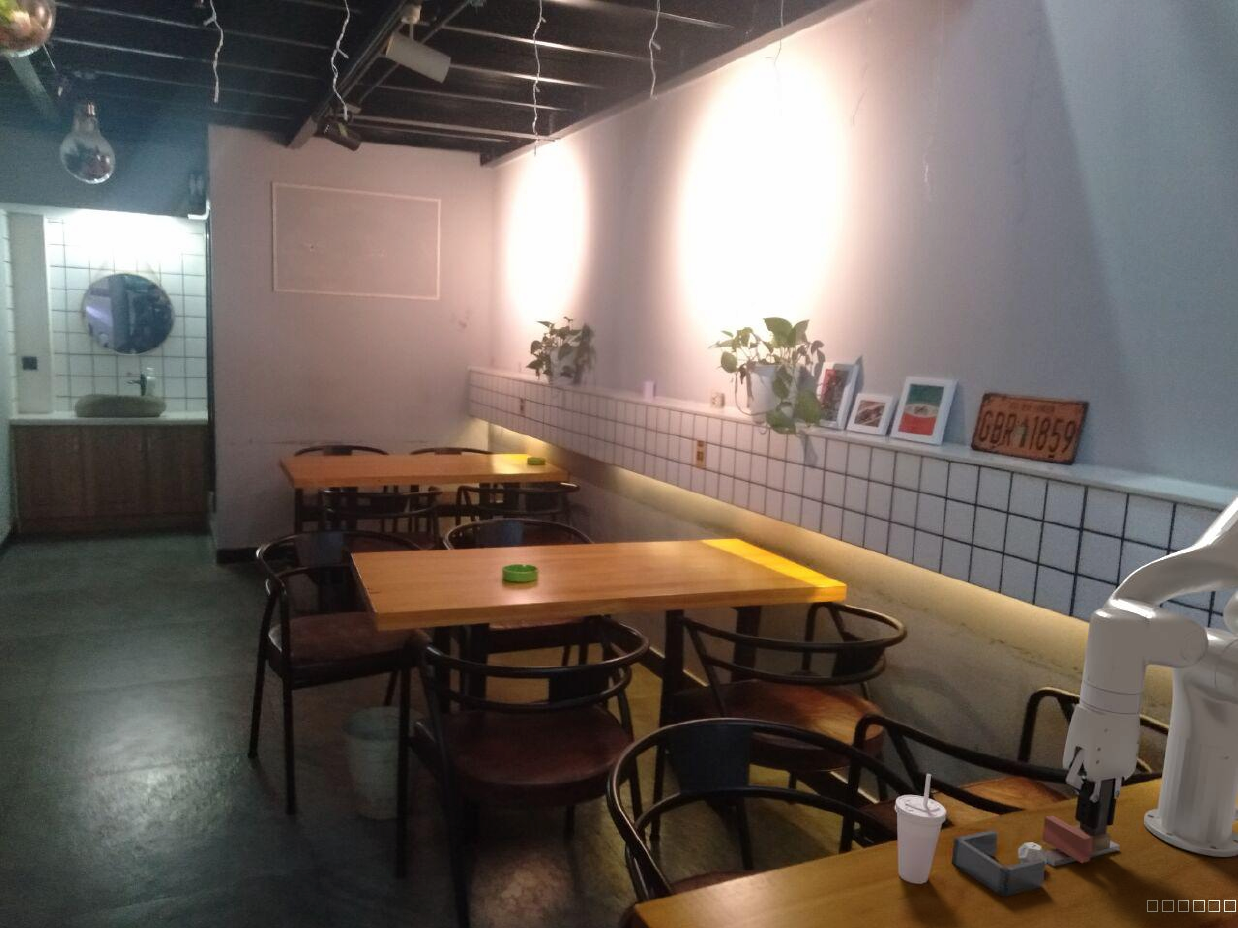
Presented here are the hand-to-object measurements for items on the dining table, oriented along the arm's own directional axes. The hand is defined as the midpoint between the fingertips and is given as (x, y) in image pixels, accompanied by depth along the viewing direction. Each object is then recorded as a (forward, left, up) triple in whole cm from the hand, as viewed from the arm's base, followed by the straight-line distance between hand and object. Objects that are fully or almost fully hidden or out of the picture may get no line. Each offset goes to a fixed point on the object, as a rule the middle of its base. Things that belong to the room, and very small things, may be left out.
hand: (1093, 821), depth 130 cm
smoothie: (+30, -4, -5) cm, 31 cm away
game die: (+12, 0, -5) cm, 13 cm away
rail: (+2, 0, -4) cm, 5 cm away
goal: (+18, 0, -4) cm, 19 cm away
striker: (+2, 0, -3) cm, 4 cm away
